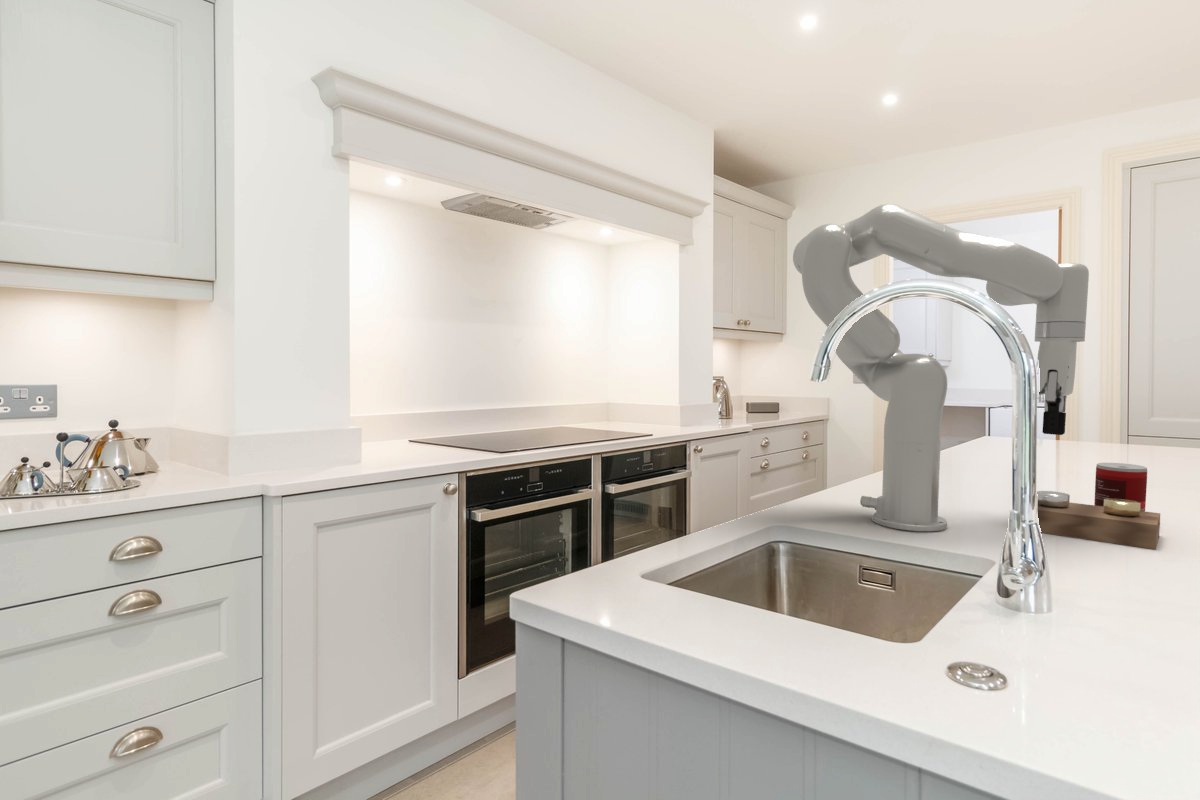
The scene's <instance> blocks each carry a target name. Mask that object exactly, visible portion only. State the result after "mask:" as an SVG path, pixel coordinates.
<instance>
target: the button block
mask: <svg viewBox="0 0 1200 800" xmlns="http://www.w3.org/2000/svg"><path fill="white" fill-rule="evenodd" d="M1103 509H1104V507H1103V506H1095V505H1094V504H1087V503H1085V504H1084V503H1079V502H1078V503H1076V502H1070V501H1069V507H1061V509H1060V508H1052V507H1044V505H1040V504H1038V518H1039V525H1040V528H1041V531H1042V534H1049V535H1055V536H1062V537H1068V538H1075V539H1080V540H1081V539H1083V540H1089V541H1095V542H1102V543H1109V544H1117V545H1122V546H1123V545H1124V546H1129V547H1136V548H1141V549H1142V548H1143V549H1150V550H1156V549H1157V546H1158V542H1159V538H1160V528H1161V527H1160V526H1161V513H1160V512H1153V511H1146V510H1145V511H1140V515H1139V516H1131V517H1124V516H1116V515H1112V514H1111V513H1107V512H1104V511H1103Z"/></svg>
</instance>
